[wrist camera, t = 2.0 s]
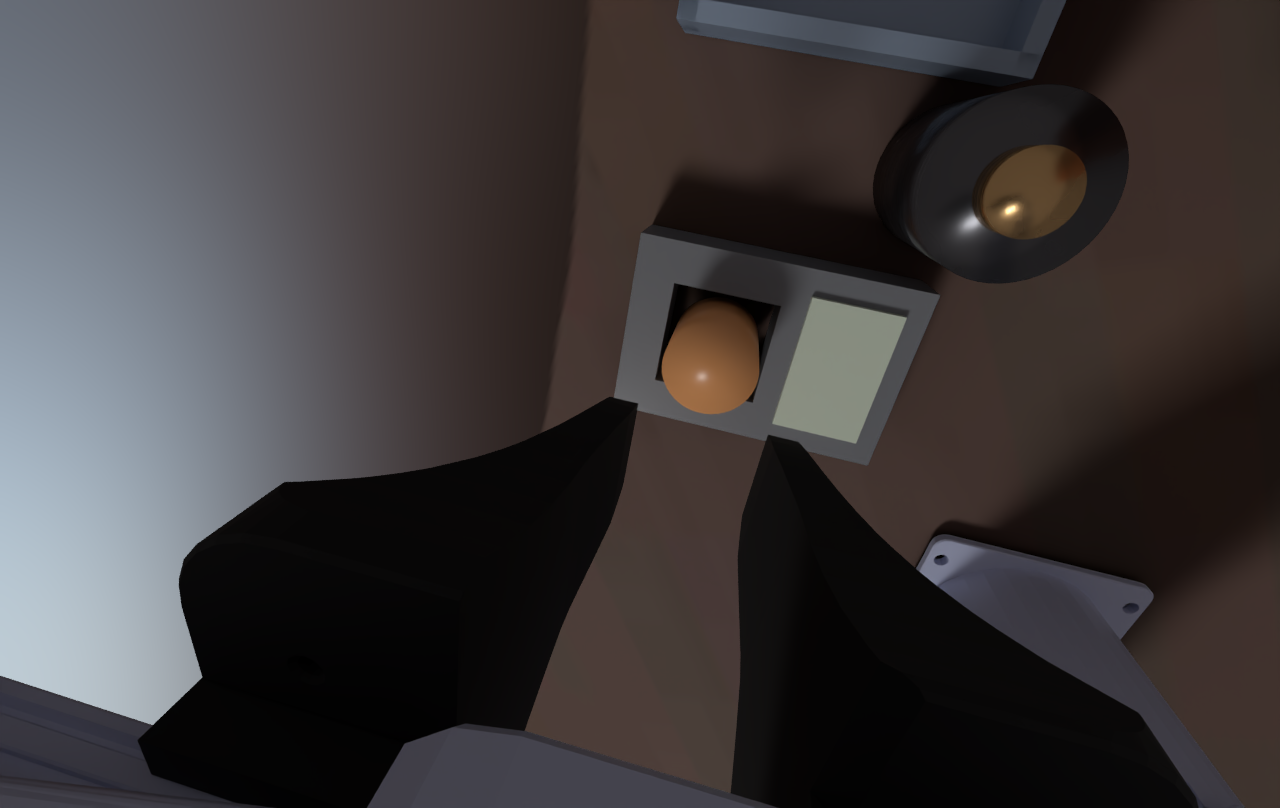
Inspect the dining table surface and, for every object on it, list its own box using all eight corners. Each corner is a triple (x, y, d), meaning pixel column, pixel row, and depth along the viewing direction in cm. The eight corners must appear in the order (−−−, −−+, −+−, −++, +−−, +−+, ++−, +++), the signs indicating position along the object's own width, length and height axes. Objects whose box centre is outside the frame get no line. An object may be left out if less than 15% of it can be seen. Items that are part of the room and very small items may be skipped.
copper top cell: (982, 258, 17) (1085, 309, 12) (854, 232, 18) (898, 270, 12) (1046, 116, 15) (1202, 100, 10) (902, 91, 16) (977, 62, 10)
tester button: (746, 384, 19) (745, 423, 16) (668, 366, 19) (653, 402, 17) (768, 307, 18) (770, 335, 15) (684, 288, 18) (671, 313, 15)
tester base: (624, 382, 21) (611, 406, 19) (652, 224, 19) (639, 233, 17) (857, 437, 20) (868, 468, 18) (921, 280, 18) (942, 296, 16)
